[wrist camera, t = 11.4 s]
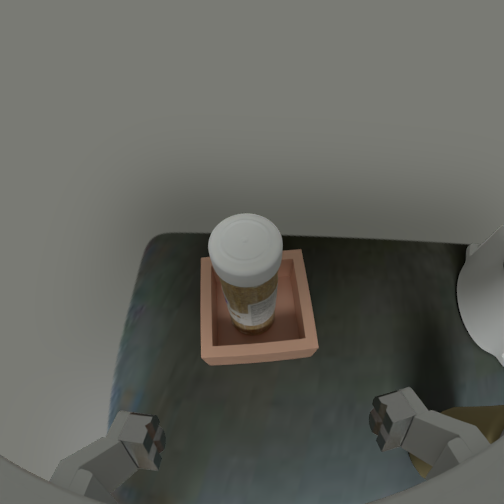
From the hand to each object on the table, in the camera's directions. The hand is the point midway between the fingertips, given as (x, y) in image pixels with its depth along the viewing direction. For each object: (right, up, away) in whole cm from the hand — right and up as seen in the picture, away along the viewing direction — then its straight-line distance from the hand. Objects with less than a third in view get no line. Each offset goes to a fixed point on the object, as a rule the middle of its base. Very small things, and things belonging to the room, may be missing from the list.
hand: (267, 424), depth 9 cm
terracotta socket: (0, 0, +20) cm, 20 cm away
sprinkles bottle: (0, 0, +19) cm, 19 cm away
